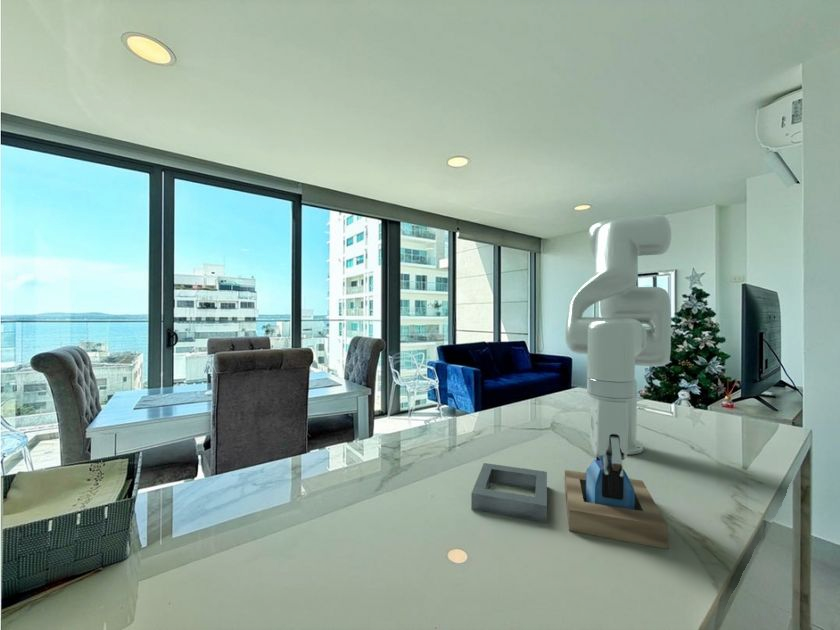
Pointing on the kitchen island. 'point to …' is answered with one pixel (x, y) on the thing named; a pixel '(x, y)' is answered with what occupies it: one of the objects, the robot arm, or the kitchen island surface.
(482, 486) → the block
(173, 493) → the kitchen island surface
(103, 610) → the kitchen island surface
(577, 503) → the tan square frame
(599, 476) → the perfume bottle
